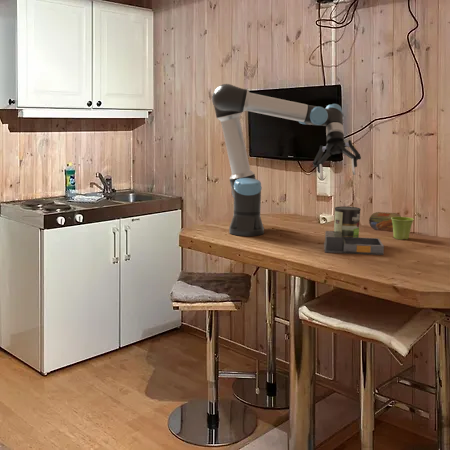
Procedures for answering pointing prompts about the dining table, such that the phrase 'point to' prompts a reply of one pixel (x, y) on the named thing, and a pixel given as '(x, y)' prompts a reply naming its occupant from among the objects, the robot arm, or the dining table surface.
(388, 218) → the tin
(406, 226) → the plant pot
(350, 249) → the grey tray
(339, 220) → the coffee can
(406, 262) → the dining table surface
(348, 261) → the dining table surface
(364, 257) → the dining table surface
